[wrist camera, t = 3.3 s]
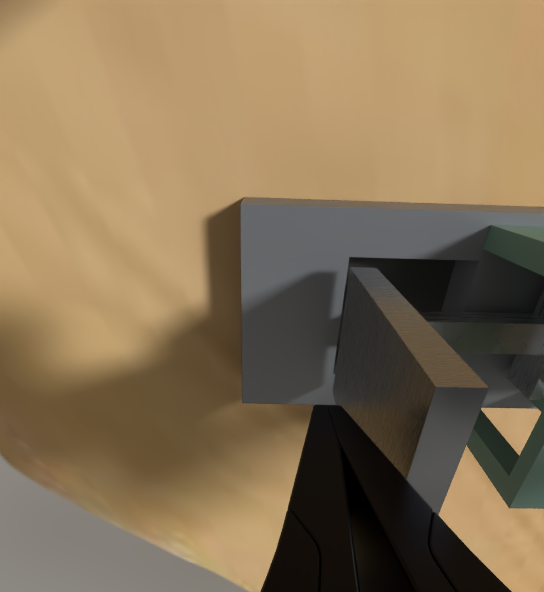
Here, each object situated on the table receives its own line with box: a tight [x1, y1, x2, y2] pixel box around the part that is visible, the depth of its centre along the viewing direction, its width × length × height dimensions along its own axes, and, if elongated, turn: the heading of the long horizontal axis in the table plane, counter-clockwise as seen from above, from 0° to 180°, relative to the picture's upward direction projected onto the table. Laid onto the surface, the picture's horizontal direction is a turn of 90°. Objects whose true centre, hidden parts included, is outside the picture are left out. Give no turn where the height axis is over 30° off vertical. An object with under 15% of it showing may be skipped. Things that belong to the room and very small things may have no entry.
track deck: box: [241, 197, 544, 409], centre depth 15 cm, size 23×10×2 cm, turn 88°
